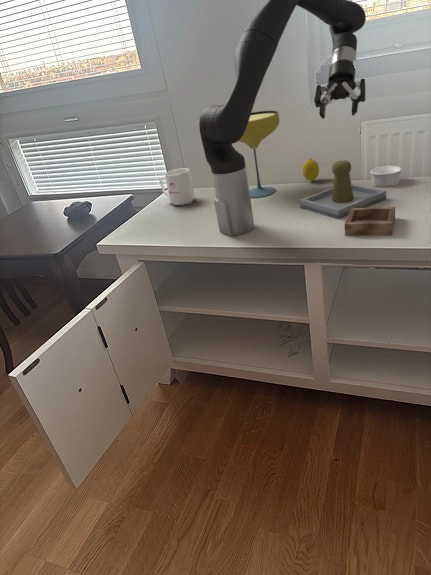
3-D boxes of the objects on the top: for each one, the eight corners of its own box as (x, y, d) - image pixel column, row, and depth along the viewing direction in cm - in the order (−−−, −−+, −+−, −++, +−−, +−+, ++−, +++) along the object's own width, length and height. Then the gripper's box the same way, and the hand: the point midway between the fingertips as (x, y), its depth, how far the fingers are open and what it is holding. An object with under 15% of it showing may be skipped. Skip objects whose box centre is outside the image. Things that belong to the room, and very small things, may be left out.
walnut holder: (344, 235, 107) (344, 224, 105) (351, 218, 115) (350, 208, 114) (391, 235, 102) (392, 223, 101) (394, 217, 111) (395, 206, 109)
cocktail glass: (273, 202, 138) (263, 120, 126) (225, 201, 147) (211, 125, 136) (294, 183, 151) (287, 108, 139) (248, 184, 160) (238, 113, 148)
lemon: (318, 178, 152) (317, 155, 148) (320, 182, 147) (319, 159, 143) (302, 180, 153) (301, 157, 149) (304, 185, 148) (302, 161, 144)
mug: (199, 197, 157) (193, 167, 152) (188, 206, 150) (181, 175, 145) (171, 198, 162) (164, 169, 157) (159, 207, 155) (152, 177, 150)
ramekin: (374, 179, 140) (374, 166, 138) (403, 178, 136) (403, 165, 134) (367, 188, 134) (367, 174, 132) (397, 188, 130) (397, 173, 127)
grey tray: (338, 219, 116) (338, 210, 115) (300, 207, 129) (299, 199, 128) (386, 199, 123) (386, 190, 122) (345, 190, 136) (344, 182, 135)
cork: (338, 204, 123) (336, 166, 117) (328, 199, 128) (326, 162, 123) (357, 199, 123) (356, 160, 118) (346, 194, 129) (345, 157, 123)
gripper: (316, 62, 128) (310, 110, 124) (366, 54, 122) (362, 103, 119) (320, 80, 135) (315, 125, 131) (368, 73, 129) (364, 120, 125)
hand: (337, 115), depth 125 cm, fingers open, 8 cm apart
